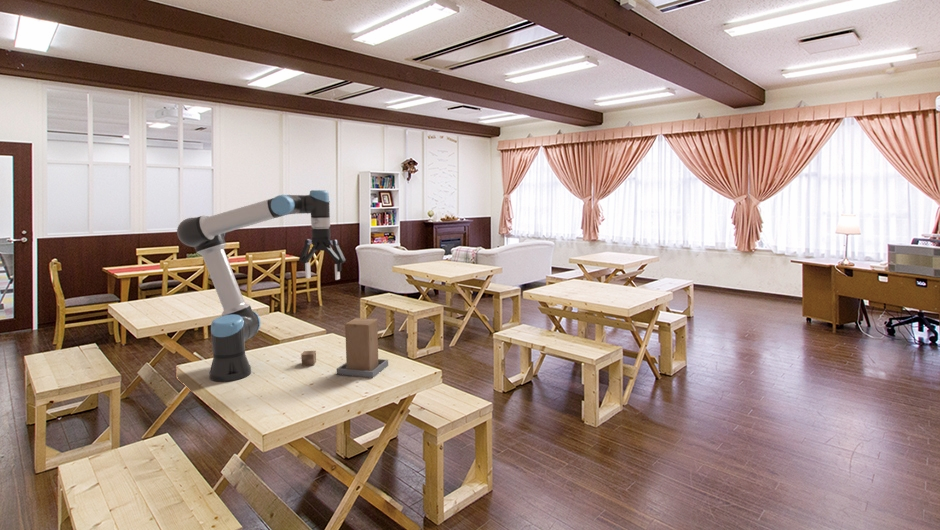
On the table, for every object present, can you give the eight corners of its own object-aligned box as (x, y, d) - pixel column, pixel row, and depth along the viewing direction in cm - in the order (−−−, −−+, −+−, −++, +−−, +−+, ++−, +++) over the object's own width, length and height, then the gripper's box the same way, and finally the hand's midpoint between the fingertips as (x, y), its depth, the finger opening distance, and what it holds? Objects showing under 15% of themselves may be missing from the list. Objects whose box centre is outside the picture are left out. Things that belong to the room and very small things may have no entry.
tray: (336, 374, 207) (336, 368, 206) (354, 362, 222) (354, 357, 221) (372, 378, 203) (372, 371, 203) (388, 365, 218) (388, 359, 218)
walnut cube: (301, 366, 218) (301, 354, 217) (304, 362, 223) (303, 351, 222) (313, 365, 218) (313, 354, 218) (316, 361, 223) (315, 350, 222)
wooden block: (369, 373, 206) (368, 324, 204) (346, 371, 208) (344, 323, 206) (378, 365, 216) (377, 318, 213) (356, 364, 218) (355, 317, 215)
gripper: (288, 228, 212) (291, 279, 215) (344, 228, 206) (345, 281, 209) (298, 227, 219) (301, 276, 222) (352, 227, 214) (354, 278, 216)
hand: (322, 278), depth 216 cm, fingers open, 13 cm apart
